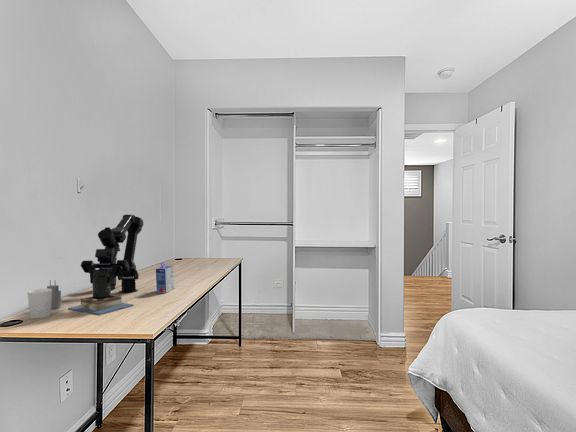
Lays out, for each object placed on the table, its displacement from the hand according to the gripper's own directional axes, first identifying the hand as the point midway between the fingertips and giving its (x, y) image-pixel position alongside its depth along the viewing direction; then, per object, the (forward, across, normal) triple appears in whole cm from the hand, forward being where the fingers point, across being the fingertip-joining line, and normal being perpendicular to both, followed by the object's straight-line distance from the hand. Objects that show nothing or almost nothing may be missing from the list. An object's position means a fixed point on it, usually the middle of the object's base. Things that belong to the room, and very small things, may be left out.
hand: (99, 282), depth 156 cm
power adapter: (+7, -20, +9) cm, 23 cm away
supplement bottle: (+4, 0, +6) cm, 7 cm away
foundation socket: (+7, 0, +8) cm, 11 cm away
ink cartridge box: (-15, +18, +31) cm, 39 cm away
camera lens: (-19, -12, +36) cm, 42 cm away
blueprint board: (+7, 0, +8) cm, 11 cm away
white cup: (+15, -18, 0) cm, 24 cm away
